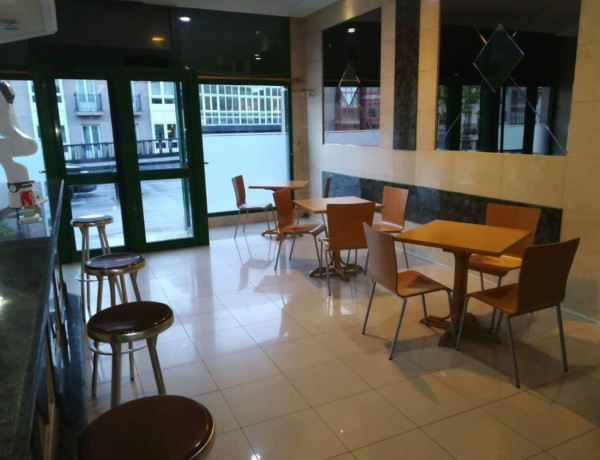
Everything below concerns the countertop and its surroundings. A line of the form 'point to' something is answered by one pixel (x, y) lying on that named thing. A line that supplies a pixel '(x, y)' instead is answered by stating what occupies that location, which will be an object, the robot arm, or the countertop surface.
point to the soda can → (27, 197)
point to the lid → (29, 216)
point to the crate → (35, 207)
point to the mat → (30, 221)
